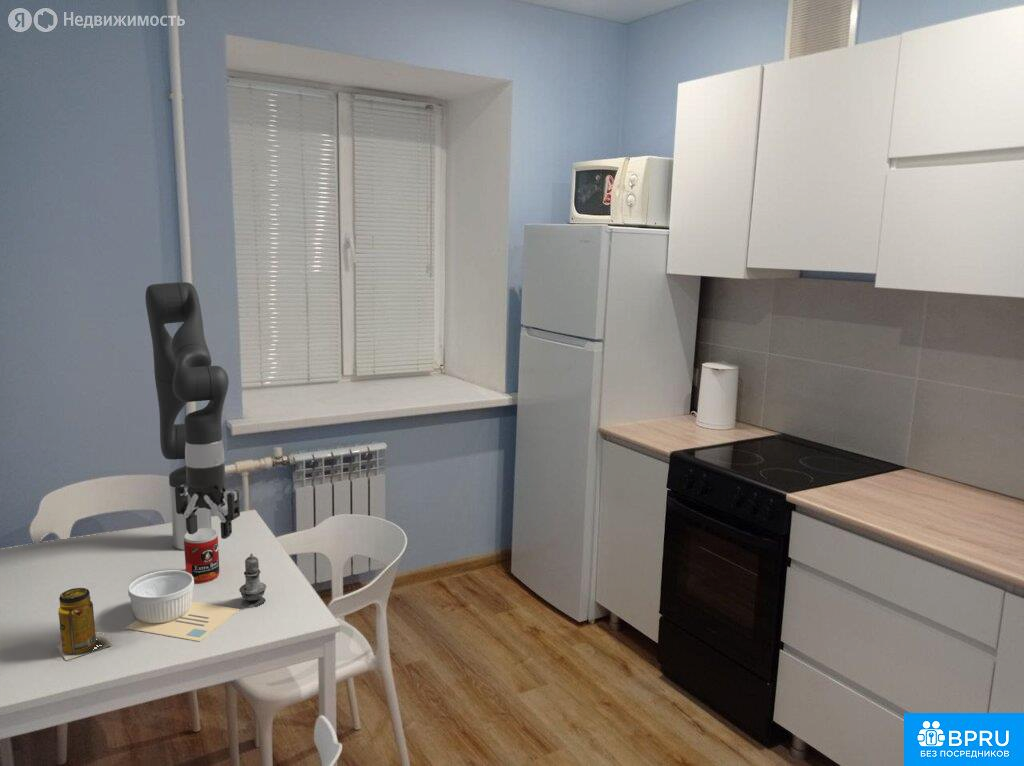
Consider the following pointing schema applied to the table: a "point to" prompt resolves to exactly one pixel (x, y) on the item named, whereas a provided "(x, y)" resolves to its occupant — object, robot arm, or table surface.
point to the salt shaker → (252, 584)
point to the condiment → (78, 624)
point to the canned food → (202, 555)
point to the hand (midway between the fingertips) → (209, 535)
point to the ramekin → (161, 596)
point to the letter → (189, 622)
